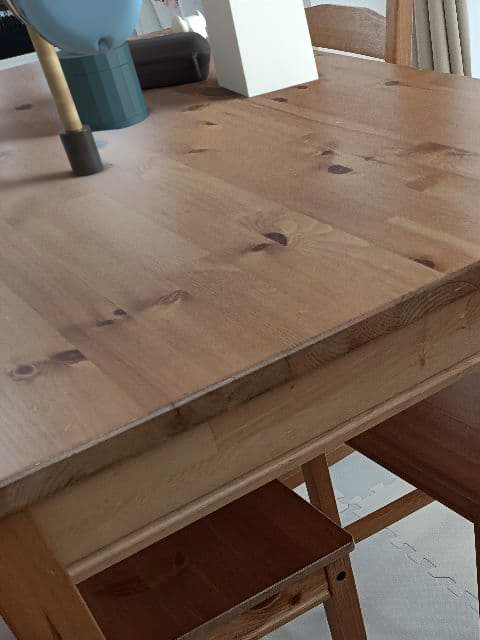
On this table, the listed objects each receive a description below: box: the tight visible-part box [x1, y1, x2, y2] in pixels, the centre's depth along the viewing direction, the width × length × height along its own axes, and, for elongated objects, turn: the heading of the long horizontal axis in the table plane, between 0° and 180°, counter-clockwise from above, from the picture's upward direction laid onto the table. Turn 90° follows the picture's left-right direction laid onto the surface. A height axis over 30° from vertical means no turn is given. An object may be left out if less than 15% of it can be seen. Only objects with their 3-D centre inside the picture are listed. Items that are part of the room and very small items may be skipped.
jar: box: [56, 41, 149, 133], centre depth 109 cm, size 10×10×9 cm
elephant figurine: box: [170, 9, 209, 40], centre depth 144 cm, size 7×8×6 cm
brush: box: [26, 26, 105, 177], centre depth 87 cm, size 4×4×20 cm
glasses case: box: [126, 32, 212, 90], centre depth 124 cm, size 18×10×8 cm, turn 97°
